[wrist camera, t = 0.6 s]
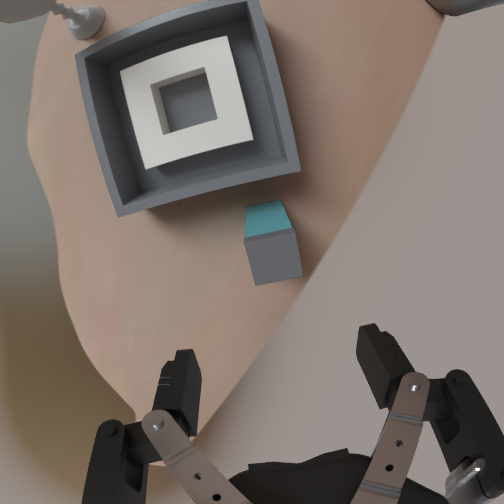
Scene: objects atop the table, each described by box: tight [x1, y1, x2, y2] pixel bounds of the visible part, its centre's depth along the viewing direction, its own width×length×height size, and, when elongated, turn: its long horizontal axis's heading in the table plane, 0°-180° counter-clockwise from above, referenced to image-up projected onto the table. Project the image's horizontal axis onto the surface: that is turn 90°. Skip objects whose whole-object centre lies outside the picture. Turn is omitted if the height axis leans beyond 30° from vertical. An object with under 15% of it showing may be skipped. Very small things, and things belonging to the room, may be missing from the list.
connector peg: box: [244, 200, 303, 286], centre depth 28 cm, size 4×4×10 cm
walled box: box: [75, 0, 301, 218], centre depth 24 cm, size 18×18×6 cm
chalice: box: [0, 0, 105, 40], centre depth 13 cm, size 7×7×18 cm
